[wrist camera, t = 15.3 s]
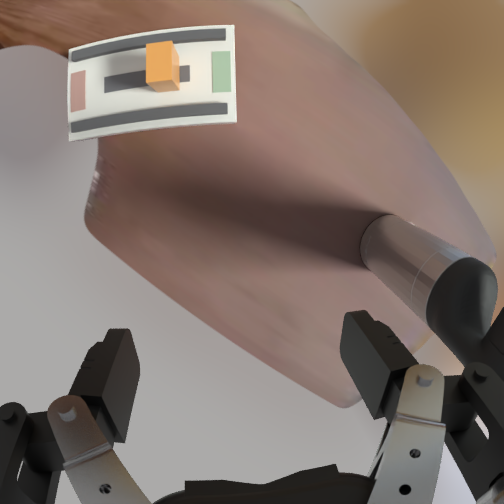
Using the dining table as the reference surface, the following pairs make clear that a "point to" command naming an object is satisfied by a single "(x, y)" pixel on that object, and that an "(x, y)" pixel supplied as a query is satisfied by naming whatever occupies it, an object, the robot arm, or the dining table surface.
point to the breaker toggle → (162, 66)
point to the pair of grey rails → (154, 113)
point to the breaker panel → (144, 96)
